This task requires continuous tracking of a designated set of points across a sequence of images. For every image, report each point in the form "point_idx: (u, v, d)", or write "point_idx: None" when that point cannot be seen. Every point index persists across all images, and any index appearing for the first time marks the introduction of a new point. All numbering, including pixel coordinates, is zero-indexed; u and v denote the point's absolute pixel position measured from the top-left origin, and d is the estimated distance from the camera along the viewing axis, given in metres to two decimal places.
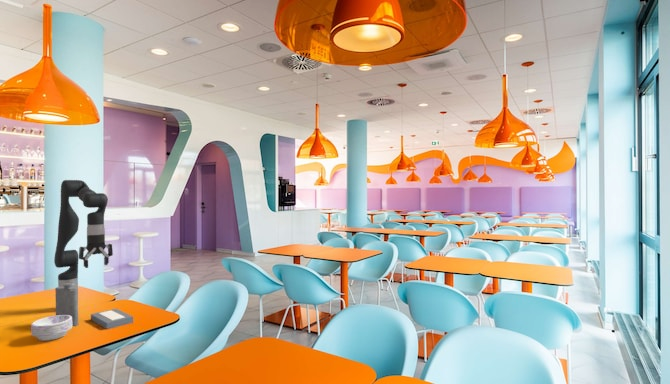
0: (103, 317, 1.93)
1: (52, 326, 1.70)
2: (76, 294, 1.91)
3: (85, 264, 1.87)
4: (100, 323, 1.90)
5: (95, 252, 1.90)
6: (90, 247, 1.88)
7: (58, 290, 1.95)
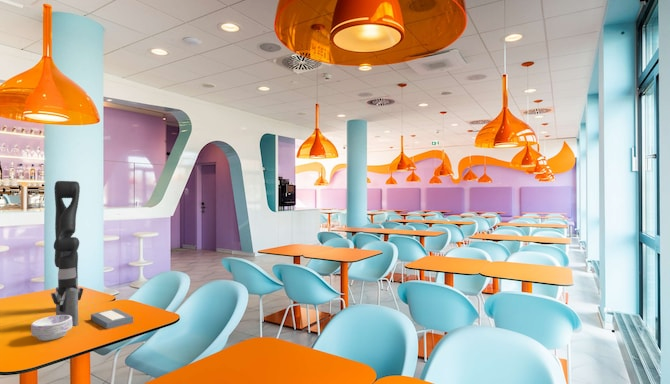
0: (103, 317, 1.93)
1: (52, 326, 1.70)
2: (76, 294, 1.91)
3: (60, 309, 1.92)
4: (100, 323, 1.90)
5: None
6: (61, 291, 1.92)
7: None
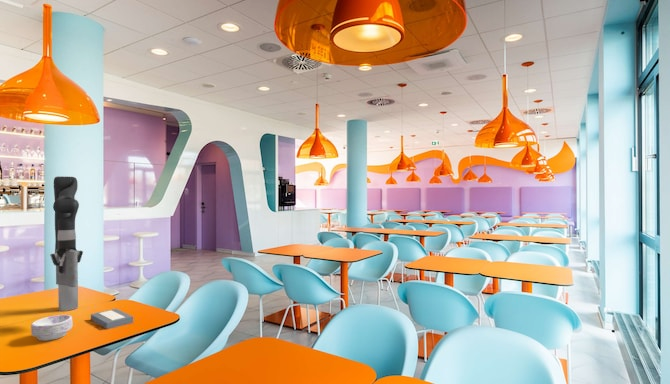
0: (103, 317, 1.93)
1: (52, 326, 1.70)
2: (75, 255, 1.91)
3: (60, 270, 1.92)
4: (100, 323, 1.90)
5: None
6: (60, 252, 1.92)
7: None
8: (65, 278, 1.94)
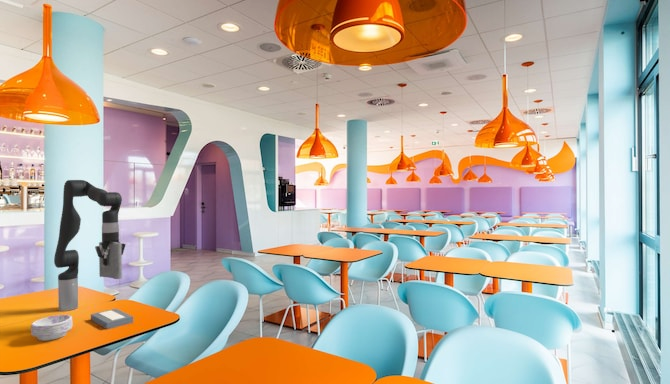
0: (103, 317, 1.93)
1: (52, 326, 1.70)
2: (120, 247, 1.93)
3: (104, 262, 1.94)
4: (100, 323, 1.90)
5: None
6: (105, 244, 1.94)
7: None
8: (109, 271, 1.95)
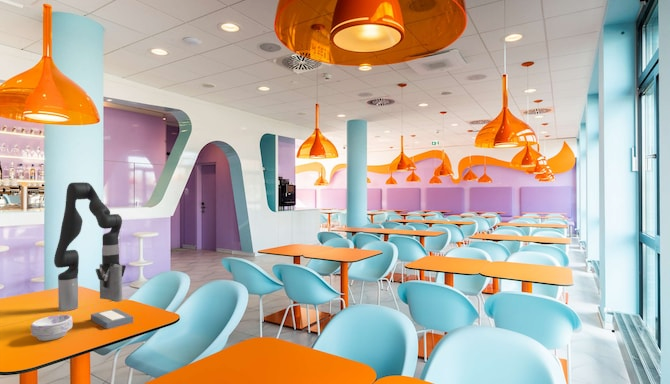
0: (103, 317, 1.93)
1: (52, 326, 1.70)
2: (120, 270, 1.93)
3: (104, 285, 1.94)
4: (100, 323, 1.90)
5: None
6: (105, 267, 1.94)
7: None
8: (109, 293, 1.95)
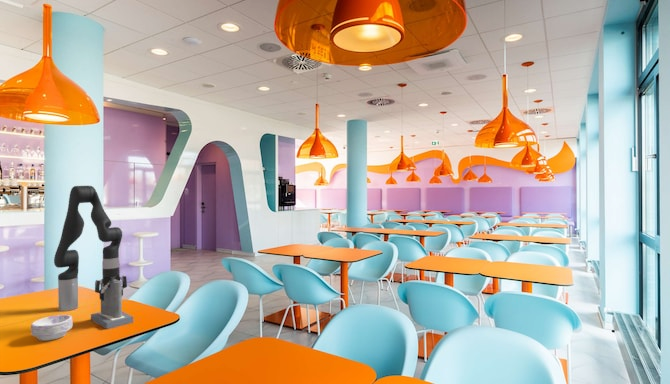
0: (103, 317, 1.93)
1: (52, 326, 1.70)
2: (120, 286, 1.93)
3: (101, 297, 1.92)
4: (100, 323, 1.90)
5: None
6: (106, 280, 1.94)
7: None
8: (109, 309, 1.95)
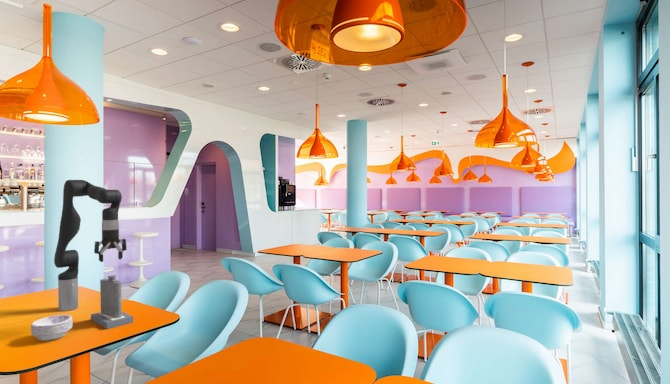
0: (103, 317, 1.93)
1: (52, 326, 1.70)
2: (119, 286, 1.92)
3: (100, 258, 1.92)
4: (100, 323, 1.90)
5: (110, 247, 1.95)
6: (105, 242, 1.94)
7: (102, 282, 1.98)
8: (109, 309, 1.95)
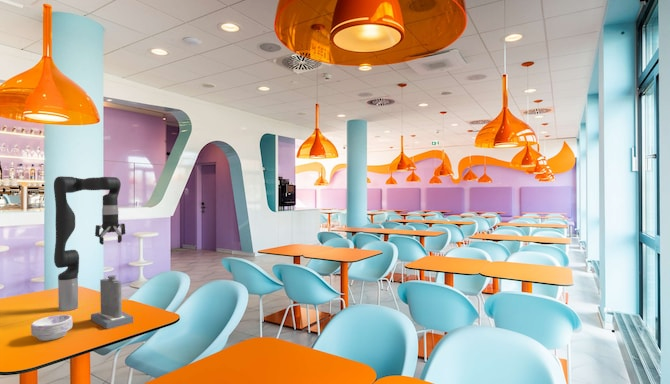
0: (103, 317, 1.93)
1: (52, 326, 1.70)
2: (119, 286, 1.92)
3: (101, 241, 2.05)
4: (100, 323, 1.90)
5: (110, 230, 2.08)
6: (105, 226, 2.07)
7: (102, 282, 1.98)
8: (109, 309, 1.95)
